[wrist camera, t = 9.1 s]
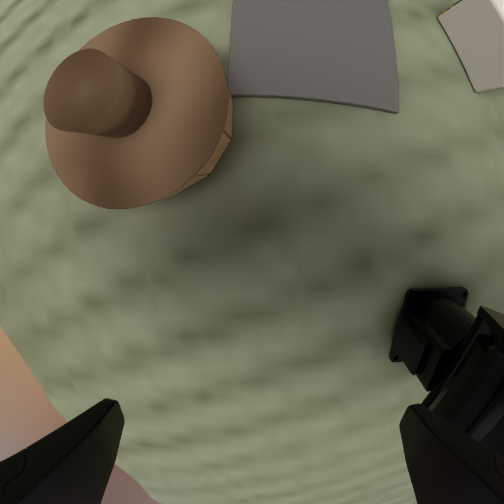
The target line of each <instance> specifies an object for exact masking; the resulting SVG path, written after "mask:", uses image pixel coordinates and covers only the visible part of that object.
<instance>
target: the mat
mask: <svg viewBox="0 0 504 504" xmlns="http://www.w3.org/2000/svg"><path fill="white" fill-rule="evenodd" d="M228 89H229V91H230V94H231V97H268V98H286V99H300V100H311V101H320V102H329V103H337V104H344V105H351V106H357V107H363V108H369V109H374V110H380V111H385V112H390V113H394V114H396V113H399V92H398V75H397V63H396V53H395V44H394V36H393V29H392V22H391V16H390V10H389V4H388V0H233V6H232V20H231V35H230V52H229V70H228Z"/></svg>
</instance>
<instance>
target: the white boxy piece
mask: <svg viewBox="0 0 504 504" xmlns="http://www.w3.org/2000/svg"><path fill="white" fill-rule="evenodd" d="M438 20H439V21H440V23H441V25H442V26H443V28H444V30H445V31H446V33H447V35H448V37H449V39H450V40H451V42H452V44H453V46H454V48H455V50H456V52H457V53H458V55H459V57H460V59H461V61H462V64H463V66H464V68H465V70H466V72H467V74H468V76H469V79H470V81H471V83H472V86H473V88H474V90H475V91H476V92H484V91H488V90H492V89H497V88H501V87H504V0H460V1H458V2H457V3H456V4H454V5H453V6H451V7H450V8H448V9H447V10H446V11H444V12H443V13H441V14H440V15H439V16H438Z"/></svg>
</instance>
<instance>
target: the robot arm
mask: <svg viewBox="0 0 504 504" xmlns="http://www.w3.org/2000/svg"><path fill="white" fill-rule="evenodd" d="M412 294H414V295H413V297H411V295H412ZM462 294H463V295H462ZM410 297H411V298H410ZM467 297H468V290H467V289H466V288H464V287H457V288H418V289H410V290H408V291H407V293H406V295H405V300H404V304H403V308H402V312H401V316H400V317H399V320H398V323H397V327H396V331H395V334H394V338H393V341H392V348H391V351H390V355H389V358H390V360H391V361H392V362H402V361H403V362H404V363H405V365H406V367H407V368H408V370H409V371H410V373H411V374H412V375H416V376H417V377H418V379H419V380H420V382H421V383H422V385H423V386H424V388H425V389H426V391H430V393H429V394H428V395H427V397H426V398H425V399H424V401H423V402H422V403H421V404H413V405H410V406H408V407H407V409H406V411H405V413H404V415H403V417H402V419H401V421H400V433H401V438H402V443H403V448H404V454H405V459H406V464H407V468H408V471H409V475H410V478H411V482H412V485H413V489H414V493H415V496H416V500H417V504H504V314H501V313H499V312H496V311H494V310H491V309H489V308H486V307H483V306H480V308H479V310H478V312H477V314H478V315H477V317H475V316H473V315H472V314H471V313H470V312H469V311H467V310H466V309H465V308H464V307H465V304H466V300H467ZM394 356H395V357H394ZM123 427H124V416H123V413H122V410H121V408H120V405H119V403H118V401H116V400H113V399H108V398H105V399H103V400H102V401H100V402H99V403H97V404H95V405H94V406H92V407H91V408H89V409H88V410H86V411H85V412H83V413H82V414H80V415H78V416H77V417H75V418H74V419H72V420H71V421H69V422H67V423H66V424H64V425H63V426H61V427H59V428H58V429H56V430H55V431H53V432H51V433H50V434H48V435H46V436H45V437H43V438H42V439H40V440H38V441H37V442H35V443H33V444H32V445H30V446H28V447H27V448H26V449H23V450H21V451H20V452H18V453H16V454H14V455H13V456H11V457H9V458H7V459H5V460H3V461H0V504H101V501H102V498H103V495H104V492H105V489H106V486H107V484H108V481H109V478H110V475H111V472H112V469H113V467H114V464H115V460H116V456H117V452H118V448H119V443H120V439H121V435H122V431H123Z"/></svg>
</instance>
